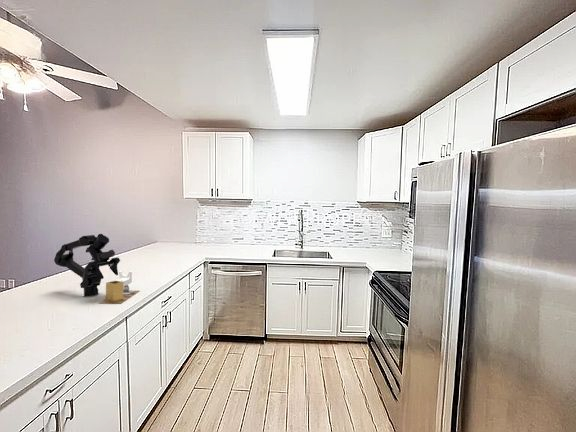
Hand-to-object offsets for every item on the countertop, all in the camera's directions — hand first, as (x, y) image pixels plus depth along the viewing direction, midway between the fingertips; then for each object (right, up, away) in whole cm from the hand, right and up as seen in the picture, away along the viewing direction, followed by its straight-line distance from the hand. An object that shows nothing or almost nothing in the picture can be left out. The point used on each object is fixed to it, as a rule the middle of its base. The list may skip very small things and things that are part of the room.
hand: (110, 276), depth 192 cm
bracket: (-11, -12, +37) cm, 40 cm away
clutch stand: (+3, -14, +5) cm, 15 cm away
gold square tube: (+4, -12, -3) cm, 13 cm away
